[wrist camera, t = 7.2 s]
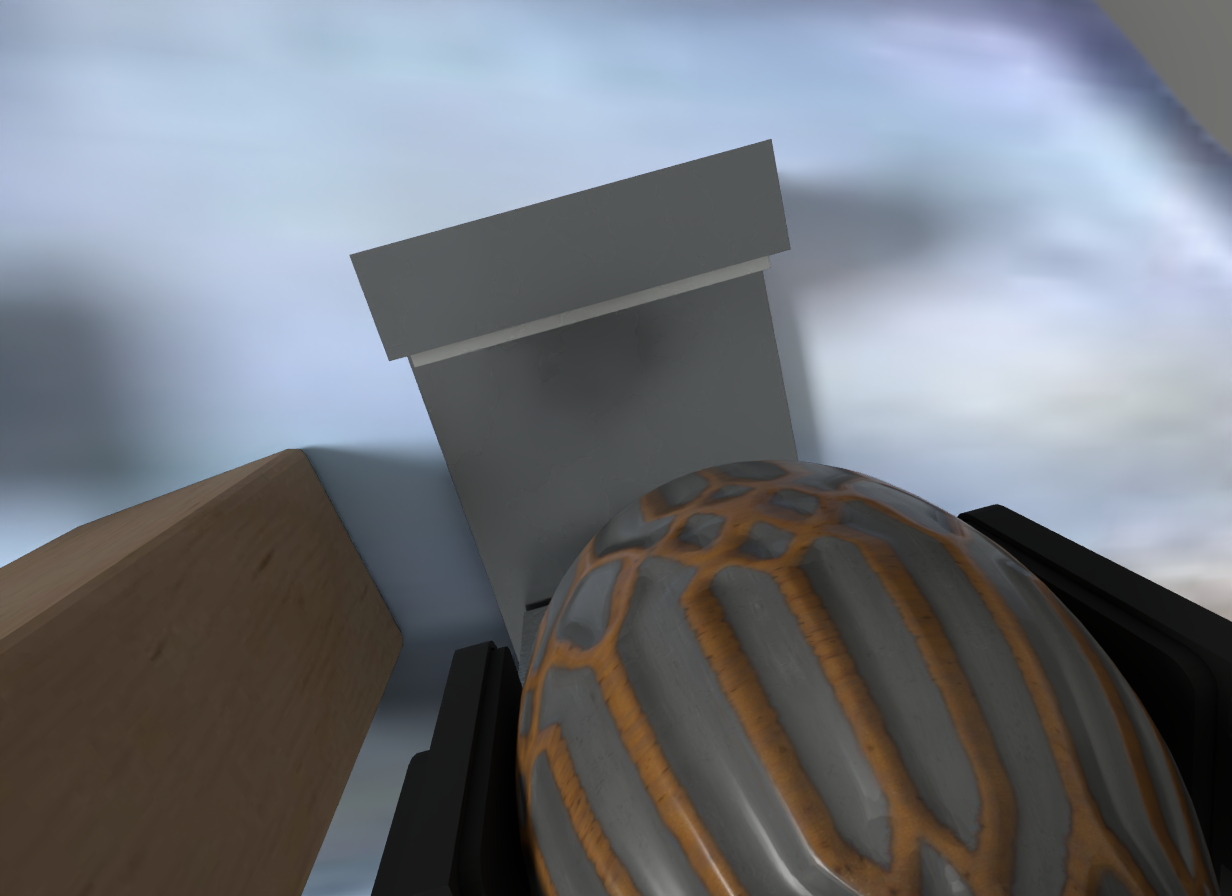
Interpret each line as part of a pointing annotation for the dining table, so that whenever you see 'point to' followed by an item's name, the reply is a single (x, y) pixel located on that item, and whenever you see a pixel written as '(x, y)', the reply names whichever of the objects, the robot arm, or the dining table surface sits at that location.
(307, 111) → the dining table surface
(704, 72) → the dining table surface
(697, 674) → the vase
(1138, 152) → the dining table surface
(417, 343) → the vise
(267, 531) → the wooden block
